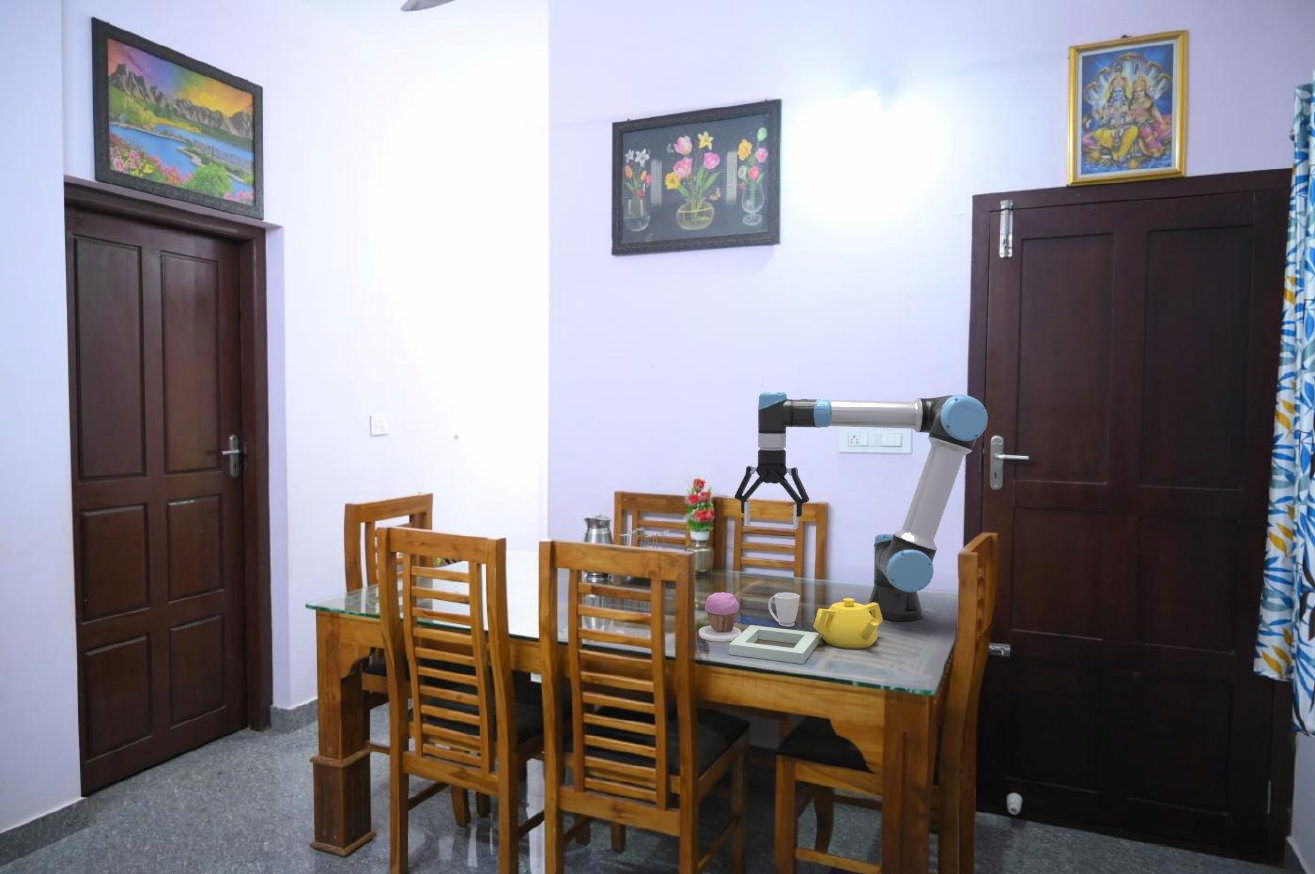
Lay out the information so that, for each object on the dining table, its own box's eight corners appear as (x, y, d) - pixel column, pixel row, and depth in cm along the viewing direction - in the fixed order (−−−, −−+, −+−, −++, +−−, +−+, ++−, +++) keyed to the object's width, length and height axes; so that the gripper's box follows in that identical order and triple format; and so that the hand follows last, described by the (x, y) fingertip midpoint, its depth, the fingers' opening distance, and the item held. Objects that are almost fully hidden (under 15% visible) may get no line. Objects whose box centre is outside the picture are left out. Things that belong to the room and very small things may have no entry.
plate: (746, 632, 216) (746, 627, 216) (733, 643, 206) (733, 638, 206) (707, 627, 221) (707, 622, 220) (692, 638, 210) (692, 633, 210)
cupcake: (745, 632, 212) (745, 593, 211) (717, 637, 207) (718, 598, 207) (724, 623, 219) (725, 586, 219) (697, 628, 215) (698, 590, 214)
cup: (788, 629, 219) (788, 599, 219) (760, 621, 227) (760, 592, 226) (805, 624, 224) (805, 595, 223) (777, 617, 231) (777, 588, 231)
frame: (819, 642, 207) (819, 633, 207) (802, 663, 191) (802, 653, 191) (750, 634, 214) (750, 625, 214) (728, 654, 198) (729, 644, 198)
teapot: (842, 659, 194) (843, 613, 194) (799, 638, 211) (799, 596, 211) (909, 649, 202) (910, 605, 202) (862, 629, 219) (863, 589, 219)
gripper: (820, 449, 221) (819, 527, 222) (732, 447, 230) (731, 522, 231) (814, 451, 214) (813, 531, 215) (723, 448, 224) (723, 525, 225)
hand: (771, 527), depth 223 cm, fingers open, 13 cm apart
